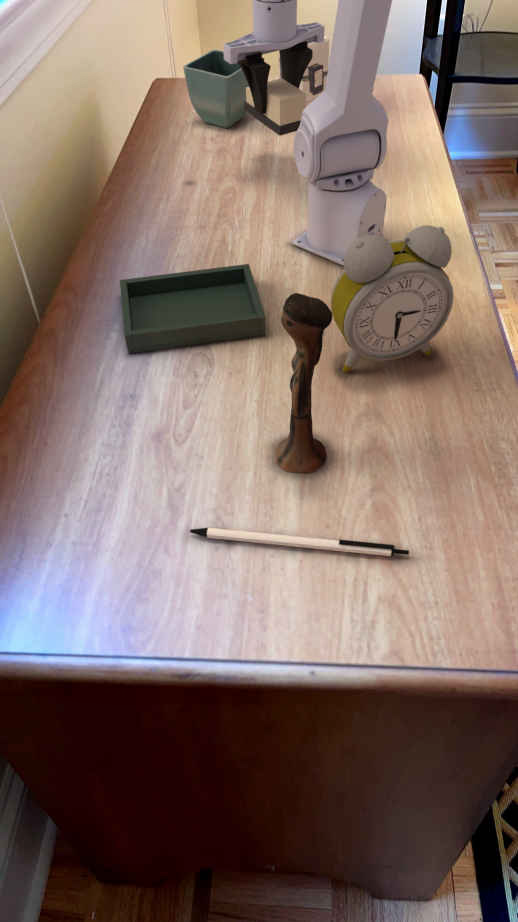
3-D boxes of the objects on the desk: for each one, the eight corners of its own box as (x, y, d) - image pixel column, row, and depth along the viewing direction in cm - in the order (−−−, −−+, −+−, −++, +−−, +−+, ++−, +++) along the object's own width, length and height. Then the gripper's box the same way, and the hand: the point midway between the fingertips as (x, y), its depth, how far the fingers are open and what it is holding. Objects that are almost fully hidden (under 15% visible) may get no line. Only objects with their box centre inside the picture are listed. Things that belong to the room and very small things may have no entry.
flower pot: (260, 116, 116) (258, 57, 110) (231, 136, 112) (228, 77, 105) (217, 105, 120) (213, 48, 113) (187, 125, 115) (181, 66, 108)
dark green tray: (249, 281, 85) (248, 263, 83) (265, 335, 79) (265, 316, 77) (123, 298, 84) (119, 279, 82) (128, 353, 77) (124, 335, 75)
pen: (407, 559, 58) (409, 552, 58) (187, 537, 60) (186, 530, 60) (407, 551, 59) (409, 543, 58) (189, 529, 61) (188, 522, 60)
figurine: (279, 422, 69) (278, 268, 56) (328, 425, 69) (340, 271, 55) (272, 479, 65) (270, 325, 51) (326, 482, 64) (338, 328, 51)
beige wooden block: (307, 128, 97) (308, 93, 93) (279, 136, 95) (279, 101, 92) (270, 103, 102) (270, 69, 99) (244, 110, 101) (242, 76, 97)
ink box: (276, 104, 119) (276, 27, 110) (301, 98, 121) (303, 21, 112) (301, 122, 114) (303, 43, 105) (327, 116, 116) (331, 37, 107)
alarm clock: (341, 383, 73) (352, 260, 62) (320, 343, 77) (327, 221, 66) (442, 362, 75) (471, 238, 63) (416, 324, 79) (439, 202, 68)
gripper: (305, -22, 92) (303, 86, 102) (209, -2, 87) (216, 109, 98) (335, -9, 88) (329, 103, 98) (236, 13, 83) (241, 127, 94)
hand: (275, 107), depth 98 cm, fingers closed on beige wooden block, 4 cm apart
